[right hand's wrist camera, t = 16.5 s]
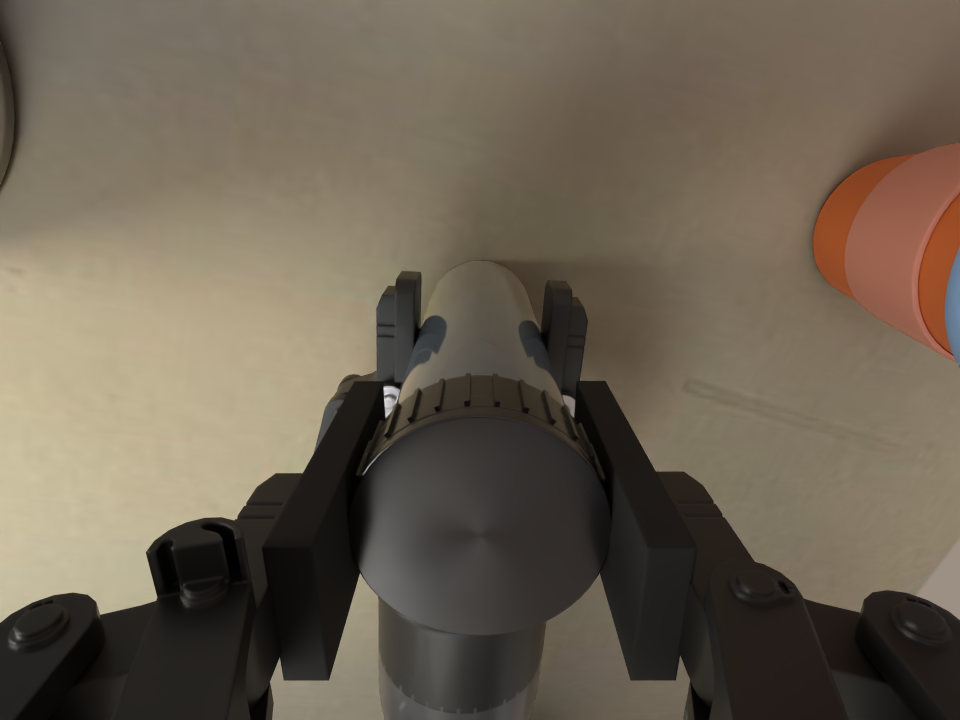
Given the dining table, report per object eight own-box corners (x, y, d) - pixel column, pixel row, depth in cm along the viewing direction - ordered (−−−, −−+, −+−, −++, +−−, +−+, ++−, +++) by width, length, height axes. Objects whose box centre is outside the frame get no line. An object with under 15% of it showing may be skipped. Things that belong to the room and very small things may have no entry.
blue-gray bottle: (539, 271, 26) (626, 435, 10) (517, 364, 27) (564, 623, 12) (439, 251, 25) (379, 391, 10) (423, 346, 27) (349, 590, 12)
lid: (369, 356, 11) (348, 395, 10) (618, 385, 12) (645, 429, 10) (357, 561, 13) (337, 626, 11) (573, 582, 13) (588, 650, 12)
